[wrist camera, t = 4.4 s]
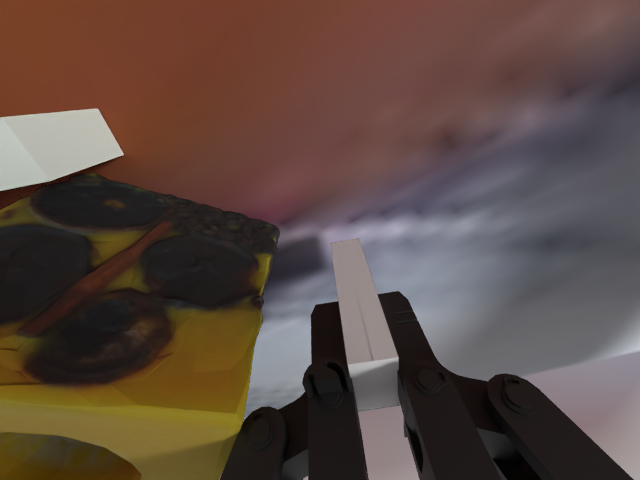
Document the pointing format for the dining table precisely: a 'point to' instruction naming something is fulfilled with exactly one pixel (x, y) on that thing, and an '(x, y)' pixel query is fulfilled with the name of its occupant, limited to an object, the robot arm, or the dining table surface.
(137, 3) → the dining table surface
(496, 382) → the robot arm
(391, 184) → the dining table surface
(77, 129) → the bay
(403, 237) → the dining table surface
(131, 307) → the candle
